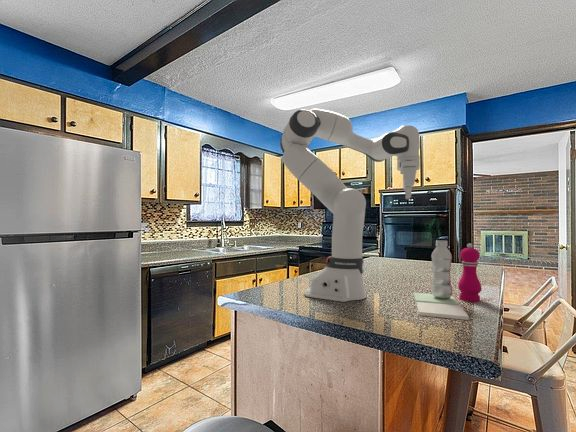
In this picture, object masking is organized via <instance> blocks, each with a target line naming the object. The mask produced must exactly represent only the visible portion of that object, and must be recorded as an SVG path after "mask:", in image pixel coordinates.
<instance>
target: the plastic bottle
mask: <svg viewBox="0 0 576 432" xmlns="http://www.w3.org/2000/svg"><path fill="white" fill-rule="evenodd" d="M448 246H449V244H448V240H442V239H441V240H440V239H436V240H435V248H434V249H433V251H432V252H431V263H432V273H433V274H432V284H431V288H430V289H431V294H433V296H434V297H437V298H441V299H446V298H450V297H451V296H453V288H452V281H451V268H452V267H451V266H452V260H453V256H452V253H451V252H450V250H449V249H448Z"/></svg>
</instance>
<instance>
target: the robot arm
mask: <svg viewBox="0 0 576 432" xmlns="http://www.w3.org/2000/svg"><path fill="white" fill-rule="evenodd" d="M314 138H319V139H320V140H321V139H322V140H324V141H327V142H331V143H334V144H338V145H341V146H343V147H346V148H348V149H350V150H354V151H356V152H359V153H361V154H364V155H365V156H366V157H368V158H369V159H370V160H371V161H373V162H377V163H381V162H384V161H385V160H387V159H389V158H393V157H396V158H397V159H396V160H397V162H396V165H397V166H396V167H397V168H396V170H397V171H400V172H399V173H400V175H402V189H403V190H404V194H405V196H404V197H405V200H410V199H411V198H412V190H413V187H414V186H415V182H416V175H417V171H418V170H420V169H421V165H420V164H421V161H420V159H421V158H420V157H421V156H420V154H419V153H420V147H421V143H420V140H421V137H420V131H419V129H418V128H417V127H415V126H413V125H401V126H400V127H399V128H397V129H396V130H393V131H391V132H387V133H385V134H383V135H381V136H379V137H378V138H374V139H369V138H367V137H364V136H361V135H359V134H356V133H355V132H354V130H353V124H352V121H351V120H350V119H349V118H348V117H346V116H345V115H344V114H343V115H342V114H340V113H338V112H334V111H331V110H326V109H320V108H311V109H310V110H309V109H299V110H296V111H295V112H294V113H293V114H291V116H290V118H289V121H288V122H287V124H286V125H285V127H284V129H283V132H282V135H281V137H280V141H279V142H280V143H279V145H280V149H281V150H280V151H282V153H283V154H282V162H283V164H284V166H285V167H286V168H287V170H288V171H289V172H290V173H291V175H293V176H294V177H295V179H296V180H297V181H299V182H300V183H301V184H302V185H303V186H304V187H305V188H306V189H307V190H308V191H309V192H310V193H312V195H314V196H315V198H316V199H317V200H319V202H320V203H322V204H323V206H324V207H326V209H328V210H329V212H331V213H332V214H333V217H332V218H333V219H332V230H331V231H332V232H331V255H330V256H328V257H327V258H326V260H325V265H326V266H325V267H324V268H323V269H321V270H320V271H319V272H318V273H316V274H315V275H313V276H312V279H311V282H310V287H309V288H306V289H305V290H304V293H303V294H304V296H305V297H307V298H315V299H319V300H320V299H322V300H327V301H335V302H342V303H343V302H345V303H346V302H349V301H359V300H364V299H366V298H367V293H366V290H365V289H366V288H365V284H364V274H363V273H364V271H365V269H364V266H365V264H364V263H365V262H364V257H363V233H364V225H365V220H366V219H365V217H366V207H367V200H366V197H365V195H364V194H363V193H362V192H361V191H360V190H358V189H356V188H354V187H353V188H351V187H347V185H346V184H344V183H343V181H342V179H340V177H339V176H338V175H337V174H336V173H335V171H333V170H332V169H331V168H330V167H329V166H328V165H327V164H326V163H325V162H324V161H323V160H322V159H321V158H319V157H318V156H317V155H316V154H315V153H314V152H313V151H311V149H310V148H309V145H310V144H311V142H312V141H313V139H314Z"/></svg>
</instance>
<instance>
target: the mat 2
mask: <svg viewBox="0 0 576 432" xmlns="http://www.w3.org/2000/svg"><path fill="white" fill-rule="evenodd" d="M415 305H416V309H417V313H418V316H423V317H432V318H433V317H434V318H445V319H452V320H455V319H456V320H463V321H465V320H466V321H469V320H470V317H469V315H468V313H467V312H466V311H465V309H463V307H462V306H461V305H460V304H459V305H448V304H436V303H425V302H415Z"/></svg>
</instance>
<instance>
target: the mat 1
mask: <svg viewBox="0 0 576 432" xmlns="http://www.w3.org/2000/svg"><path fill="white" fill-rule="evenodd" d="M413 297H414V303H416V302H425V303H436V304H448V305H459V306H460V304H459V302H458V301H457V300H456V298H455V296H454V295H452V296H451V297H450V298H446V299H441V298H437V297H434V296H433V294H432V293H425V292H413Z"/></svg>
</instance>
